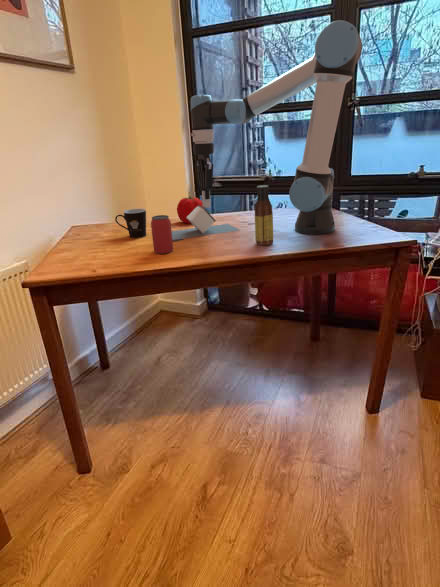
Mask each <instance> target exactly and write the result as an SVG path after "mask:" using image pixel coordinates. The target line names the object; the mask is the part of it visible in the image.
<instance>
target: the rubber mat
mask: <svg viewBox="0 0 440 587" xmlns="http://www.w3.org/2000/svg"><path fill="white" fill-rule="evenodd" d="M239 231H240V228H237V227H235V226H233V225H231V224H229V223H224V224H216V225H215V224H214V225H211V226H210V227H209V228H208V229H207V230H206V231H205V232H204V233H202V232H200V231H199V230H197V229H196V228H195V227H194V228H187V229H180V230H179V229H178V230H172V241H173V243H174V242H179V241H184V239H191V238H197V237H198V238H199V237H205V236H210V235H219V234H225V233H231V232H239Z"/></svg>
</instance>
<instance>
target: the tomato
mask: <svg viewBox="0 0 440 587" xmlns="http://www.w3.org/2000/svg"><path fill="white" fill-rule="evenodd" d="M198 205H200V206H202V207H203V201H202V200H201V199H199V198H198V197H196V196H195V197H194V196H189V197H182V198H181V199H180V200H179V201H178V204H177V207H176V213H177V216H178V219H179V220H180V221H181V222H182V223H184V224H188V225H193V224H192V223H191V222H190V221H189V220H188V219H187V218H186V217H187V216H188V215H189V214H190V213H191V212H192V211H193V210H194V209H195V208H196V207H197V206H198Z"/></svg>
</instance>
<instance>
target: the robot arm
mask: <svg viewBox="0 0 440 587" xmlns="http://www.w3.org/2000/svg"><path fill="white" fill-rule="evenodd" d="M362 51H363V43H362V38H361V36H360V35H359V31H358V29H357V27H356V26H355V25H354V24H353V23H350V22H349V21H346V20H340V19H339V20H334V21H332V22H330V23H328V24H326V25H325V26H324V27H322V29H321V31H320V32H319V33H318V35H317V37H316V40H315V44H314V54H313V56H312V57H310V58H308V59H307V60H305V61H304V62H302V63H300V64H298V65H297V66H295V67H293V68H291V69H290V70H289V71H286V72H285V73H283V74H281V75H279V76H278V77H276V78H275V79H273V80H271V81H270V82H267V84H265V85H263V86H261V87H260V88H258V89H257V90H255V91H252V92H251V93H249V94H248V95H246V96H244V97H243V98H241V99H240V98H237V99H236V98H231V99H223V100H221V99H220V100H213V99H212V96H211V95H210V94H197V95H193V96H191V98H190V117H191V118H190V119H191V130H192V132H191V134H190V135H191V137H192V142H193V145H192V146H193V147H192V148H193V150H192V151H193V154H194V155H197V156H198V157H197V161H196V162H195V165H196V168H197V177H198V186H199V188H200V189H201V198H202V200H201V201H202V202H203V207H204V208H205V209H207V208H209V209H210V208H211V205H212V204H211V190H212V189H213V169H214V163H213V162H212V161H211V160H212V159H211V156H210V155H213V154H214V153H215V150H214V148H215V147H214V143H213V141H214V127H213V125H230V124H231V125H238V124H240V125H241V124H242V125H243V124H247V123H250V121H252V119H253V118H255V117H256V116H258V115H260V114H262V113H263V112H265V111H267V110H270V109H271V108H272V107H274V106H276V105H278V104H280V103H282V102H284V101H285V100H287V99H289V98H291V97H293V96H295V95H296V94H298V93H300V92H301V91H304V90H305V89H307V88H309V87H311V86H313V85H314V84H315V90H314V97H313V102H312V108H311V112H310V119H309V124H308V129H307V133H306V134H307V135H306V140H305V145H304V151H303V155H302V156H303V157H302V162H301V163H300V164H299V165H297V167H296V170H295V176H294V180H293V182H292V184H291V185H290V188H289V192H288V193H289V194H288V195H289V201H290V203H291V204H292V205H293V207H294V208H295V209H296V210H298V212H299V213H298V214H297V216H296V217H297V218H296V221H295V224H294V231H296V232H298V233H300V234H304V235H305V234H306V235H323V234H324V235H325V234H330V233H333V232H334V231H335V229H336V224H335V218H334V215H333V211H332V210H333V209H332V206H333V205H332V204H333V193H334V179H335V171H334V169H333V168H331V167H329V164H330V158H331V155H332V151H333V150H332V149H333V145H334V139H335V134H336V132H337V126H338V121H339V117H340V113H341V112H340V111H341V108H342V103H343V97H344V93H345V89H346V85H347V83H349V82H350V81H351V80H352V79H353V76H354V71H355V66H356V64H357V63H358V62H359V60H360V58H361V56H362Z"/></svg>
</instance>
